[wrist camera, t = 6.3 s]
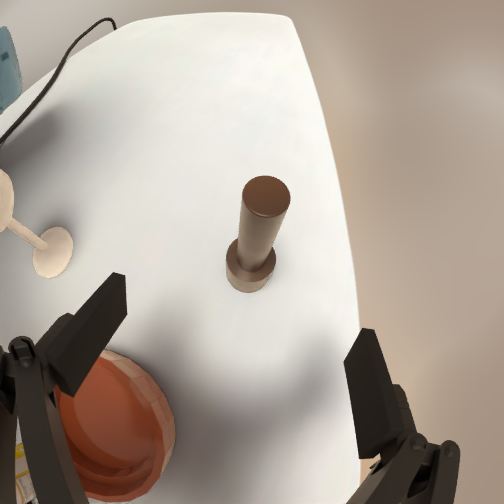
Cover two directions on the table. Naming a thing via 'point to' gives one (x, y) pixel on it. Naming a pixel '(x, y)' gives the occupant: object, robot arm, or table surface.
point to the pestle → (257, 233)
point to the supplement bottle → (22, 477)
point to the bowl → (117, 429)
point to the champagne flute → (46, 246)
